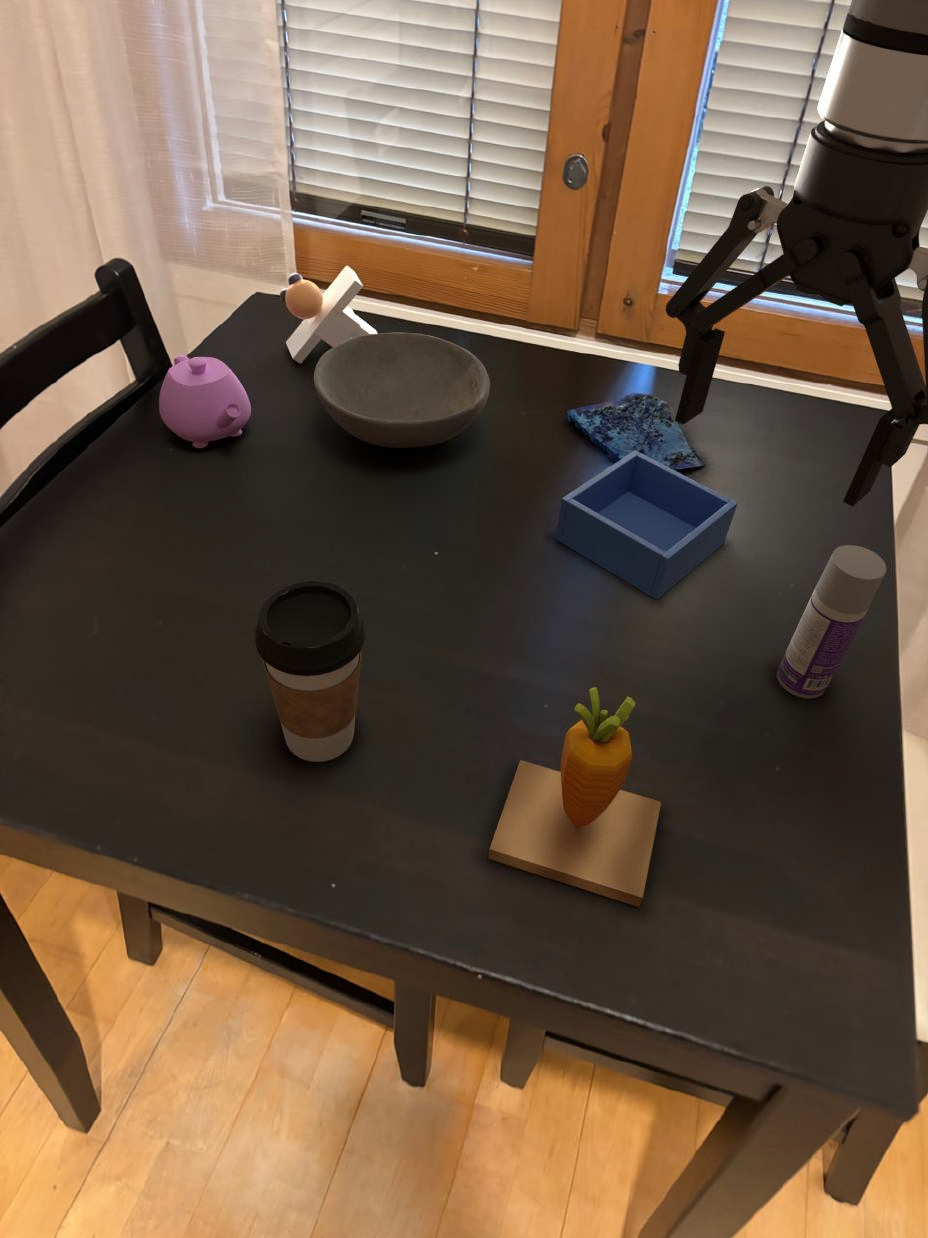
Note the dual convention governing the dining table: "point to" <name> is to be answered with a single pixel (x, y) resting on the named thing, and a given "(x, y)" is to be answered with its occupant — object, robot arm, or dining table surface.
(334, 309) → the figurine
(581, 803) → the carrot
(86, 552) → the dining table surface
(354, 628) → the coffee cup
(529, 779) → the board
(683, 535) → the bin
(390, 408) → the bowl
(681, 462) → the blue flat piece
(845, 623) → the container
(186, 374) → the teapot
